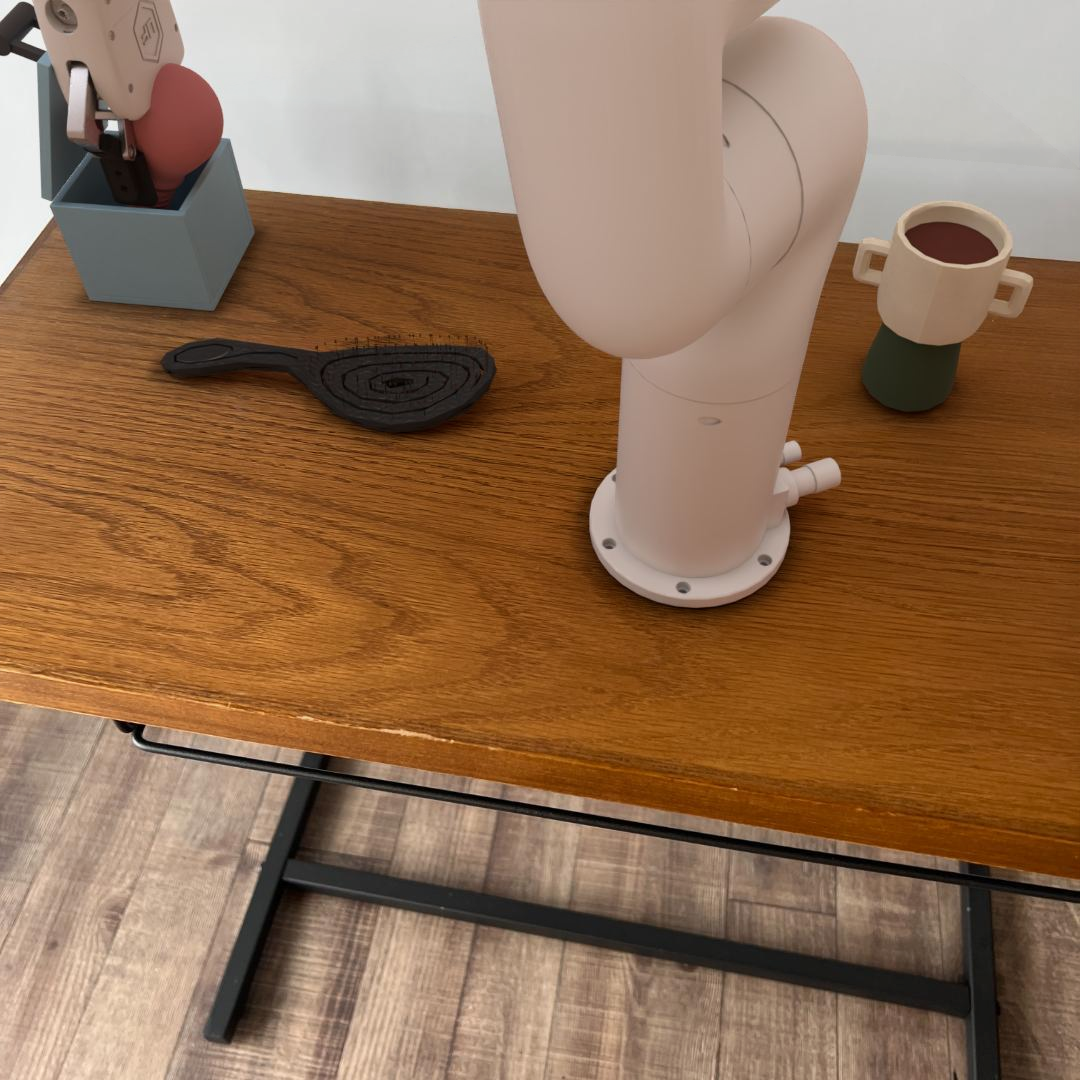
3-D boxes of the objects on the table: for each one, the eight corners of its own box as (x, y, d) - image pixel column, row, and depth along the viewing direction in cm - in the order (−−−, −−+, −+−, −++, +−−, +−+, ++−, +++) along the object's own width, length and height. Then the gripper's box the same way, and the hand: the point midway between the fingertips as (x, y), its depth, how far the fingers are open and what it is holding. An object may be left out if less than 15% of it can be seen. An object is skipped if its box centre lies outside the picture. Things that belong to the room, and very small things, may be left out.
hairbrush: (175, 299, 80) (504, 320, 76) (191, 338, 83) (509, 360, 79) (129, 375, 75) (479, 402, 71) (148, 413, 78) (485, 442, 74)
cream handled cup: (990, 376, 78) (1054, 221, 67) (972, 442, 73) (1037, 287, 63) (840, 337, 80) (880, 182, 70) (815, 398, 76) (853, 244, 66)
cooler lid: (111, -7, 76) (33, -38, 75) (48, 66, 69) (-38, 33, 68) (108, 126, 84) (38, 99, 83) (52, 202, 78) (-25, 174, 77)
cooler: (255, 232, 90) (230, 138, 83) (213, 311, 84) (183, 215, 77) (138, 223, 91) (105, 129, 84) (89, 300, 85) (48, 205, 78)
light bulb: (184, 177, 86) (224, 52, 78) (201, 244, 83) (244, 122, 75) (90, 163, 82) (121, 29, 74) (104, 233, 79) (138, 102, 71)
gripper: (69, -17, 61) (161, 248, 75) (178, -136, 72) (241, 116, 86) (-54, -24, 62) (60, 240, 76) (72, -140, 73) (152, 110, 87)
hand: (156, 172), depth 81 cm, fingers closed on light bulb, 6 cm apart
